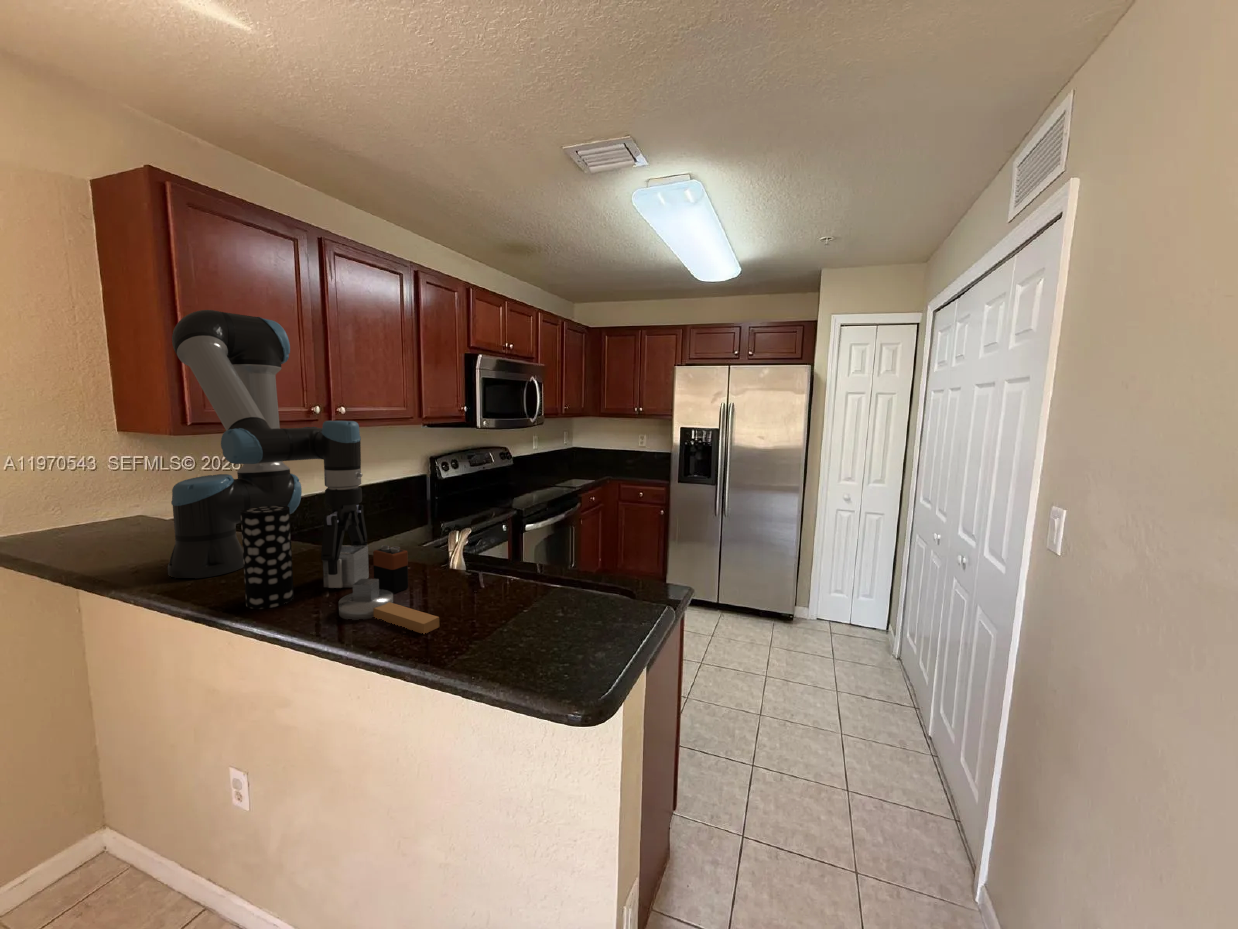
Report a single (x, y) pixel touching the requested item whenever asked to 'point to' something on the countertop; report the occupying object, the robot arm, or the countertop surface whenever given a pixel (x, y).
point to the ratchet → (383, 608)
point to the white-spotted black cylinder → (267, 556)
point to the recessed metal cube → (351, 565)
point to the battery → (391, 568)
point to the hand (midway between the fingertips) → (346, 579)
